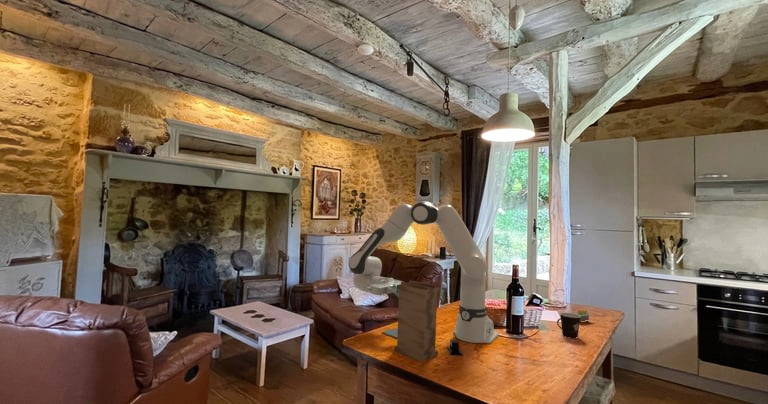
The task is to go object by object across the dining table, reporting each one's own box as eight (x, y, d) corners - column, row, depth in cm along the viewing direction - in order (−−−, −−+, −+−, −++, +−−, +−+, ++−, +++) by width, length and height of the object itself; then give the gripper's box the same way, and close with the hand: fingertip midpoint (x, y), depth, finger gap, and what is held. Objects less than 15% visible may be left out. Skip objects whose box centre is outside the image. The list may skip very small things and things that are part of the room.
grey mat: (395, 329, 167) (395, 327, 167) (432, 342, 151) (432, 340, 152) (382, 333, 160) (382, 331, 160) (419, 347, 145) (419, 345, 145)
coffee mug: (575, 333, 171) (575, 313, 171) (583, 339, 162) (583, 318, 162) (550, 332, 172) (551, 311, 172) (557, 338, 163) (558, 316, 164)
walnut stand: (410, 345, 147) (412, 279, 148) (437, 355, 137) (439, 285, 138) (394, 351, 139) (396, 282, 141) (422, 362, 130) (424, 288, 131)
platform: (561, 321, 193) (562, 309, 193) (582, 318, 201) (582, 306, 201) (582, 327, 182) (582, 315, 183) (603, 324, 190) (603, 312, 191)
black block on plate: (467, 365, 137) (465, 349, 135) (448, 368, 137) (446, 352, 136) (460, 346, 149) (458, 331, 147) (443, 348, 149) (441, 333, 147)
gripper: (363, 281, 162) (385, 286, 153) (393, 277, 177) (414, 281, 167) (363, 295, 162) (384, 300, 152) (393, 289, 177) (414, 294, 167)
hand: (400, 290), depth 160 cm, fingers closed on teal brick, 3 cm apart
